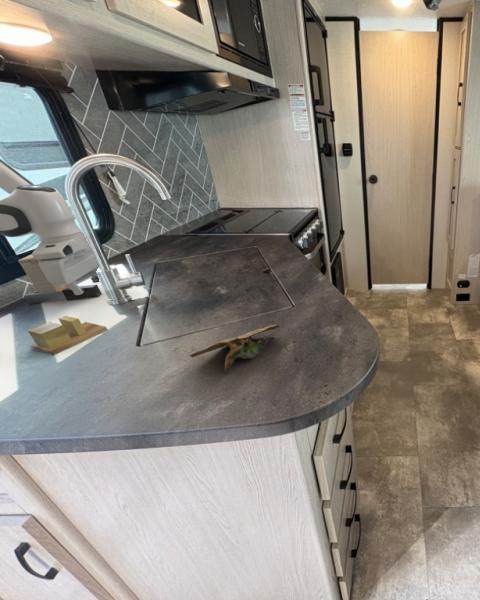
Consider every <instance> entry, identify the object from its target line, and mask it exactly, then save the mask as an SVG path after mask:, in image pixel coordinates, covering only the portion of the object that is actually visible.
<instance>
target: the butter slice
mask: <svg viewBox="0 0 480 600" xmlns="http://www.w3.org/2000/svg"><path fill="white" fill-rule="evenodd" d="M58 321H59V322H60V325H63V327H64V328H65V330H66V332H67V333H71V334H75V335H79V336H80V335H82V334H84V333H86V331H85V329H84V327H83V326H82V323H81V320H80V319H79V318H78V317H73V316H69V315H63V316H61V317H59V318H58Z"/></svg>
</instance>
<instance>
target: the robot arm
mask: <svg viewBox="0 0 480 600" xmlns="http://www.w3.org/2000/svg"><path fill="white" fill-rule="evenodd" d="M0 189H2V190H3V191H4V192H6V193H7V194H9V195H7V196H5V197H3V198H0V235H1V236H4V237H7V238H18V237H19V238H20V237H25V236H29V235H34V234H36V236H37V237H38V240H39V241H40V242H39V243H38V245H37V247H36V248H35V249H34V250H33V251H32V253H31V254H32V255H33V257H34V259H35V260H40V262H39V265H40V268H41V270H42V271H43V273H44V275H45V277H46V278H47V280H48V281H49V282H50V283H51V284H52V285H54V286H63V285H66V287H68V288H69V289H71V290H72V291H73V293H74V294H75V295H81V294H83V293H84V290H83V288H82V287H79V286H80V285H78V281H77V280H78V279H80V278H82V277H84V276H85V275H87V274H89V273H90V275H91V277H90V280H91V281H92V283H94V284H96V283H100V282H101V281H99V278H98V276H97V274H96V271H97V269H98V267H99V266H98V265H97V262H96V259H95V257H94V255H93V253H92V251H91V249H90V247H89V245H88V243H87V240H86V238H87V237H86V236H85V235H84V233H83V231H82V230H81V228H80V227H79V226H78V225H77V223H76V221H75V215H74V213H73V211H72V209H71V208H70V206H69V204H68V202H67V201H66V199H65V197H64V196H63V194H61V193H60V191H58V189H56V188H55V187H52V186H49V185H44V184H34V183H33V182H31V181H30V180H29V179H27V178H26V177H25V176H24V175H22V174H21V173H20V172H18V171H17V170H15V168H13V167H12V166H10V165H9V164H8V163H7V162H6V161H4V160H2V159H1V158H0ZM85 237H86V238H85Z"/></svg>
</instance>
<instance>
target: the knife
mask: <svg viewBox="0 0 480 600" xmlns="http://www.w3.org/2000/svg"><path fill="white" fill-rule="evenodd" d="M78 286H79V287H82V288H83V290H84V293H83V294H81V295H75V294H74V293H73V291H72V290H71V289H69V288H65V289H64V290H62V291H54V292H45V293H38V292H37V293H36V292H35V293H27V294H23V298H24V299H25V301H26V303H27V304H28V305H35V304H43V303H49V302H51V303H52V302H60V301H76V300H84V299H93V298H99V297H100V296H102V291H101V289H100V288H99V285H98V284H89V285H78Z"/></svg>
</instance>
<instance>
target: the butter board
mask: <svg viewBox="0 0 480 600" xmlns="http://www.w3.org/2000/svg"><path fill="white" fill-rule="evenodd" d="M81 324H82V326H83V327H84V329H85V331H86V333H84V334H82V335H80V336H79V335H75V334H71V333H67V332H66V330H65V328H64V327H63V325H62V324H61V323H60V324H59V323H56V322H51V321H49V322H46V323H44V324H43V323H42V324H41V325H37V326H36V327H33V328H30V329H28V330H27V333H28V334H29V335H30V337H31V338H32V340H33V342H34V343H32V344H30V347H31V349H33V350H35V351H39V352H43V353H46V354H49V355H52V356H55V355H57V354H58V353H61V352H63V351H65V350H67V349H69V348H71V347H74V346H77V345H78V344H80V343H82V342H85V341H86V340H89V339H91V338H93V337H96V336H98V335H100V334H102V333H104V332H106V331H108V328H107V326H105V325H102V324H101V325H100V324H97V323H91V322H87V321H84V322H82V323H81Z"/></svg>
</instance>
